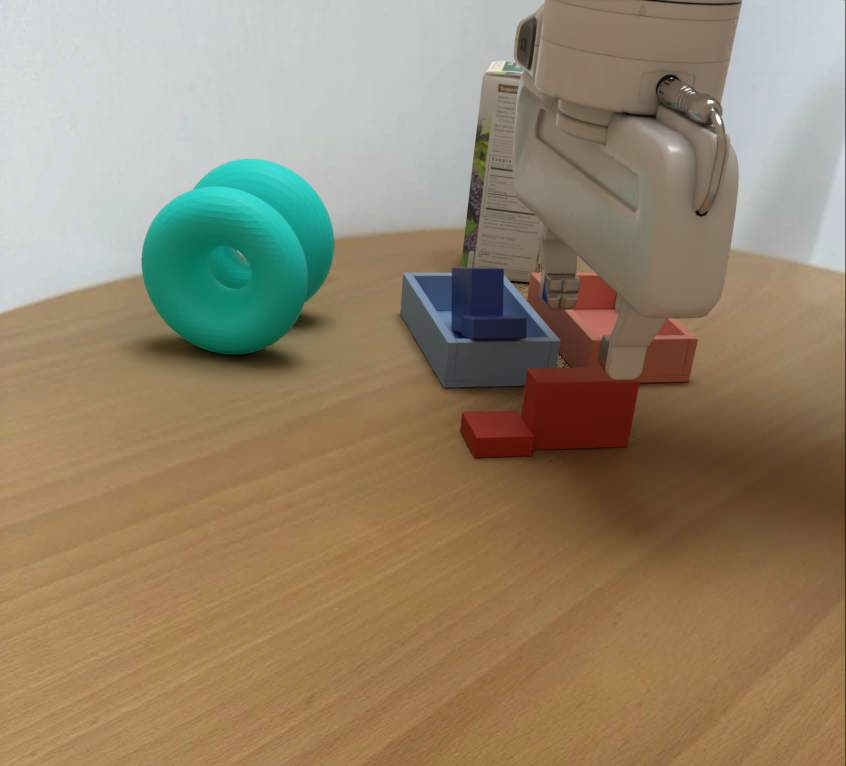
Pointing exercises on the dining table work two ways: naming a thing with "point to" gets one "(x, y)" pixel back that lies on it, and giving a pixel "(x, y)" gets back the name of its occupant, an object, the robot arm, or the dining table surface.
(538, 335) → the blue bin
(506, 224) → the syrup box
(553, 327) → the red bin
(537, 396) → the two-tier red step
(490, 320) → the dark blue l-shaped piece
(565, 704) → the dining table surface
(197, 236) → the turquoise yo-yo
